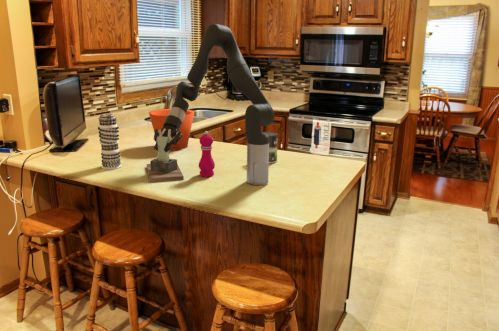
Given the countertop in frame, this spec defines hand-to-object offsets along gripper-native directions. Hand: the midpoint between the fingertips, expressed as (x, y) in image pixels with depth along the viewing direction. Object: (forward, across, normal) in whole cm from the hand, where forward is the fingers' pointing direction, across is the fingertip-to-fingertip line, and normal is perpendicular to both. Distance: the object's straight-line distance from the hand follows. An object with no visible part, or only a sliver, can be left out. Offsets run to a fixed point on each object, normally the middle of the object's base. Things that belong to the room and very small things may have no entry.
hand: (160, 150), depth 186 cm
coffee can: (-21, +35, +37) cm, 55 cm away
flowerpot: (-25, -24, +41) cm, 54 cm away
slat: (+2, 0, +5) cm, 6 cm away
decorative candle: (+9, -28, +8) cm, 30 cm away
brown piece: (+6, 0, +9) cm, 11 cm away
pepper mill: (+3, +19, +13) cm, 23 cm away
